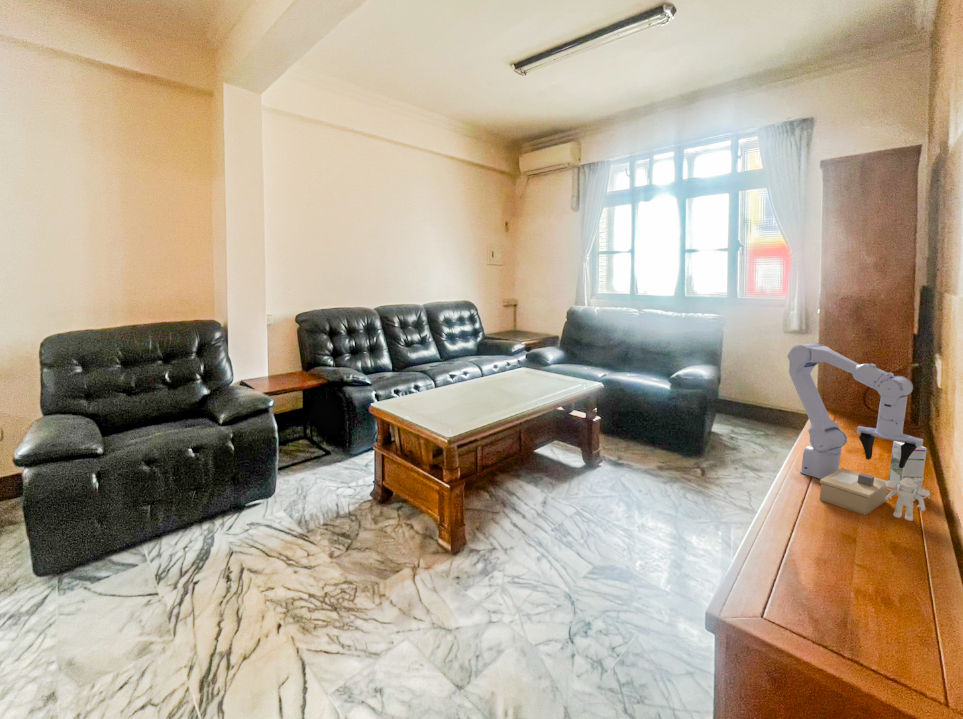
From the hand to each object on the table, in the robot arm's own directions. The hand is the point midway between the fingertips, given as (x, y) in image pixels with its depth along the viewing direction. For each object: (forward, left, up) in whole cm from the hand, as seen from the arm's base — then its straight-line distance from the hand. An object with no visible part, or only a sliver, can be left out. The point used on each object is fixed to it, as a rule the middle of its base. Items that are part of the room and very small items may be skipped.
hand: (884, 462), depth 134 cm
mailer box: (-3, -10, -10) cm, 15 cm away
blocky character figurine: (+8, -10, -10) cm, 17 cm away
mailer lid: (-3, -10, -5) cm, 12 cm away
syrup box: (+2, +11, -11) cm, 15 cm away
